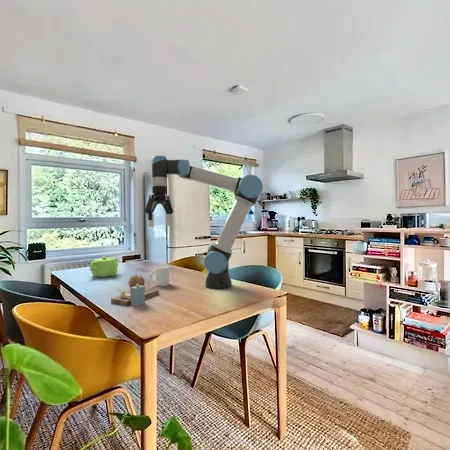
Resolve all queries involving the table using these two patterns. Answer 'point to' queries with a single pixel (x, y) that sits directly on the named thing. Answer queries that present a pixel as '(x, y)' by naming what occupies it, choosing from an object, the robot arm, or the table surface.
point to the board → (127, 301)
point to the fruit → (136, 281)
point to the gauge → (135, 295)
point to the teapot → (104, 267)
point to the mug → (160, 276)
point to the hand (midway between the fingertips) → (160, 226)
